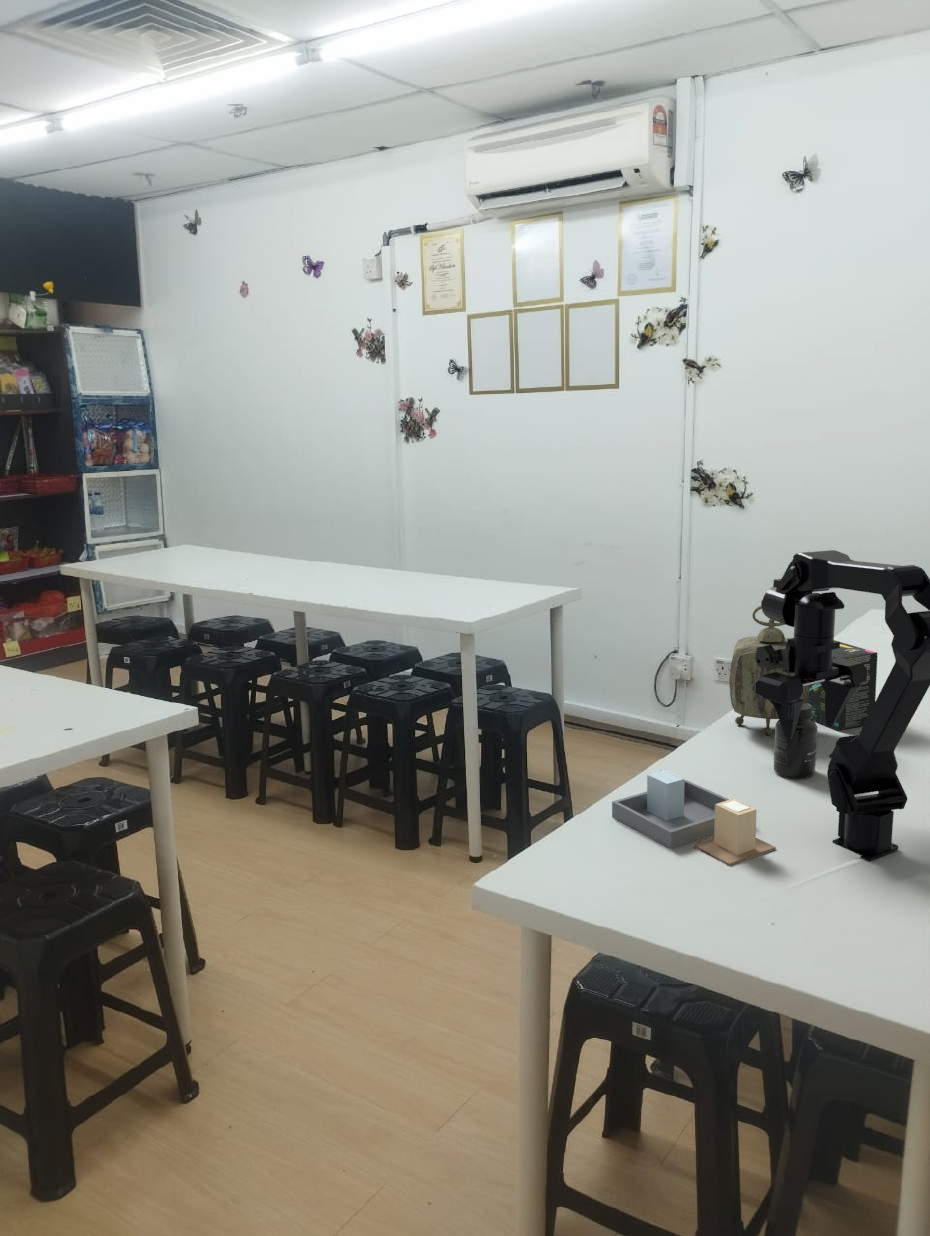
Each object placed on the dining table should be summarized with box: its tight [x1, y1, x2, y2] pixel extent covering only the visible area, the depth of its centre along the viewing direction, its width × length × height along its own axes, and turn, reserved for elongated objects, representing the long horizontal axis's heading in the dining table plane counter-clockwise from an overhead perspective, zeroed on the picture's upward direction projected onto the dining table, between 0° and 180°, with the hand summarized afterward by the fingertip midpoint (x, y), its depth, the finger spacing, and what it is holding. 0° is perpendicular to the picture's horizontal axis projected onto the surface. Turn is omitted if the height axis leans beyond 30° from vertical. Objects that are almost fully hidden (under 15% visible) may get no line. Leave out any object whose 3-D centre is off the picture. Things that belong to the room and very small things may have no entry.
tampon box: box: [807, 641, 878, 731], centre depth 190 cm, size 11×9×15 cm
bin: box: [611, 779, 731, 850], centre depth 148 cm, size 13×15×3 cm
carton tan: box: [713, 798, 757, 855], centre depth 138 cm, size 4×4×6 cm
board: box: [693, 837, 777, 867], centre depth 139 cm, size 7×9×1 cm
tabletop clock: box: [728, 605, 810, 736], centre depth 184 cm, size 14×9×25 cm, turn 72°
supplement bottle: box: [773, 703, 818, 780], centre depth 165 cm, size 7×7×12 cm
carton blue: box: [646, 769, 685, 821], centre depth 150 cm, size 4×4×6 cm
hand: (809, 732), depth 149 cm, fingers open, 9 cm apart
